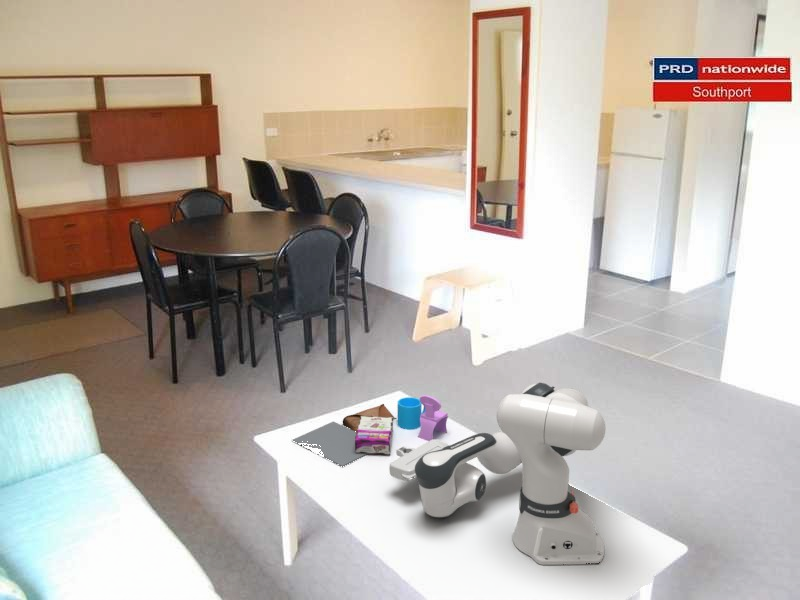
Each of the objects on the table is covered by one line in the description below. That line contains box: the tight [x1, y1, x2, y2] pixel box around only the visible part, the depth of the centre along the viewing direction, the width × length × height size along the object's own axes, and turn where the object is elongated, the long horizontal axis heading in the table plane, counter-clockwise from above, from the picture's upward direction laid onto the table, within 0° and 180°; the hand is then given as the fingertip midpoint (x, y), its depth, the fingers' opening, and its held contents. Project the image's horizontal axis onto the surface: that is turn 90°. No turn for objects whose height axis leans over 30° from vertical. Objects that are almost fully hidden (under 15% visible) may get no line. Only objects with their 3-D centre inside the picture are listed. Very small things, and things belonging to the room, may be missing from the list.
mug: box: [397, 396, 425, 431], centre depth 240 cm, size 12×8×8 cm
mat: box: [292, 421, 371, 468], centre depth 226 cm, size 24×18×1 cm
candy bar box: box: [355, 416, 394, 455], centre depth 226 cm, size 11×5×16 cm
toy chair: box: [417, 394, 449, 442], centre depth 230 cm, size 8×9×15 cm
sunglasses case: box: [342, 403, 398, 432], centre depth 241 cm, size 18×7×7 cm, turn 130°
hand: (399, 450), depth 206 cm, fingers closed
